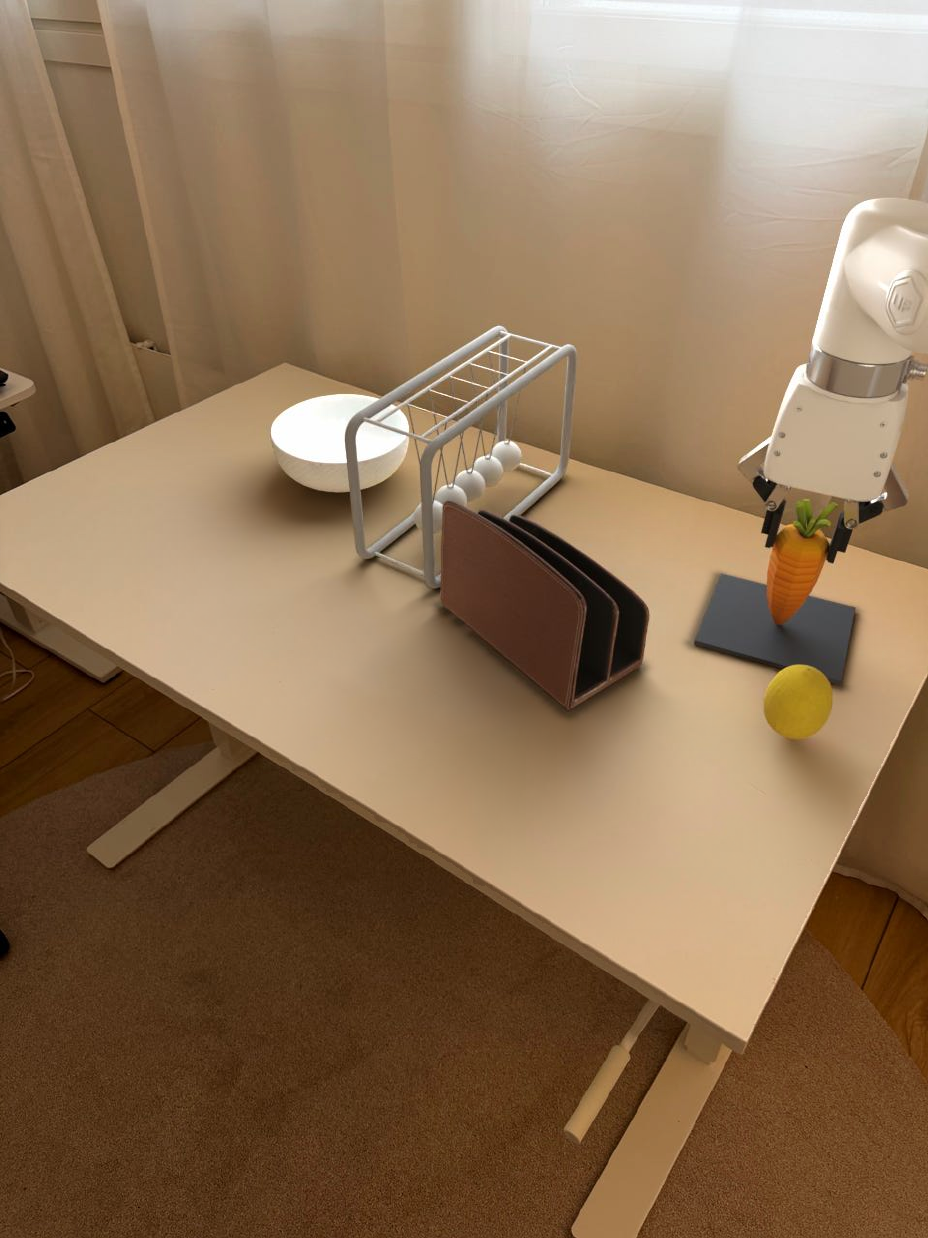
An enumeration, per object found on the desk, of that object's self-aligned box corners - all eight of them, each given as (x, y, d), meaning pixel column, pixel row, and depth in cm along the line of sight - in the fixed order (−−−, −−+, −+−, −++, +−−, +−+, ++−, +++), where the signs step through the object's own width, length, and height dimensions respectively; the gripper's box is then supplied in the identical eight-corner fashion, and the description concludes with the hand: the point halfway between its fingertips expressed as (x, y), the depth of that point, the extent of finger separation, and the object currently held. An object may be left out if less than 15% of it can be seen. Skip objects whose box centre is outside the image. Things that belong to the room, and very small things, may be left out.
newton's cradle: (499, 450, 118) (503, 319, 106) (569, 473, 114) (580, 339, 102) (355, 564, 99) (340, 420, 88) (431, 598, 95) (426, 450, 83)
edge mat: (854, 611, 93) (855, 607, 93) (839, 685, 85) (841, 681, 85) (720, 576, 98) (721, 573, 97) (694, 644, 89) (694, 640, 89)
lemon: (826, 726, 81) (850, 662, 76) (808, 766, 77) (833, 702, 72) (766, 702, 83) (786, 639, 78) (746, 740, 80) (766, 676, 74)
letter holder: (568, 713, 82) (581, 595, 73) (439, 605, 94) (435, 491, 85) (643, 666, 87) (664, 550, 78) (511, 568, 99) (515, 457, 89)
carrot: (804, 614, 92) (844, 490, 82) (801, 645, 88) (843, 519, 79) (755, 604, 93) (788, 480, 83) (750, 634, 90) (785, 508, 80)
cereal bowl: (249, 486, 111) (240, 436, 107) (332, 430, 122) (327, 382, 118) (358, 527, 105) (353, 475, 100) (436, 464, 115) (435, 414, 111)
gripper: (970, 367, 73) (899, 548, 84) (758, 331, 78) (719, 506, 90) (967, 406, 67) (892, 593, 79) (740, 366, 73) (702, 546, 85)
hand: (801, 545), depth 84 cm, fingers closed on carrot, 4 cm apart
